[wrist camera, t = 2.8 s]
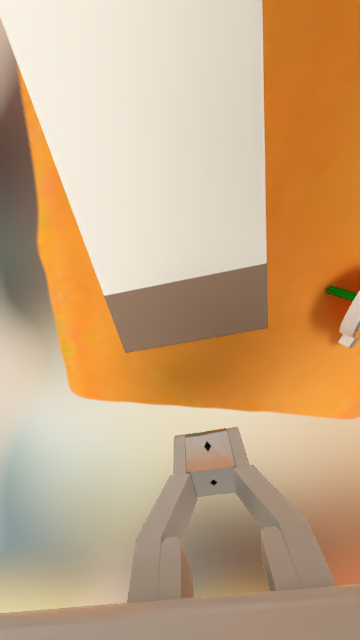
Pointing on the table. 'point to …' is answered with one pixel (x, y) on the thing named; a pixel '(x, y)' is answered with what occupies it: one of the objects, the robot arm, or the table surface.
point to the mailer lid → (157, 153)
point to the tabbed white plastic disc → (349, 316)
